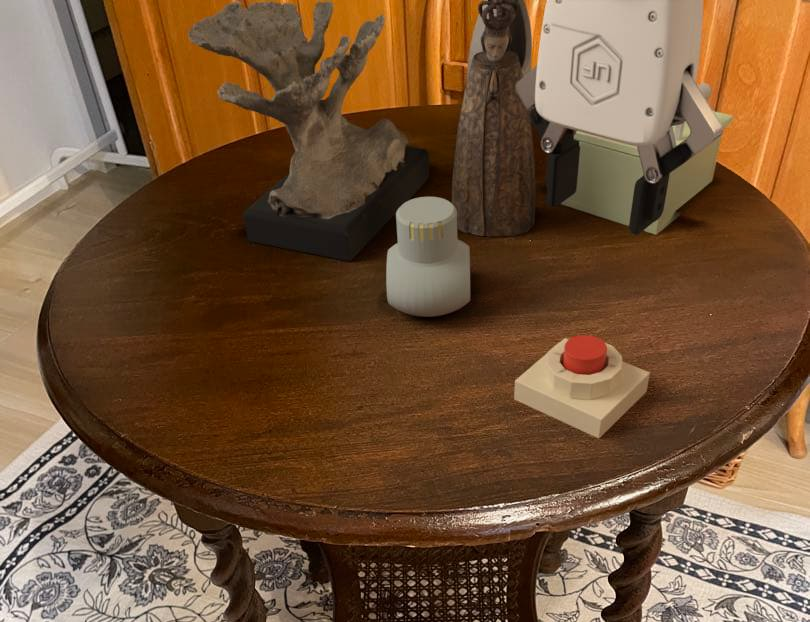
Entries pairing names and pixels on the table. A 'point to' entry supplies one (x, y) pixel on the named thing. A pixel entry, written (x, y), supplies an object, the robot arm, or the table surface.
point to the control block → (582, 390)
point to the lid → (679, 130)
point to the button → (584, 355)
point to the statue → (494, 138)
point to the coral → (315, 131)
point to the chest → (617, 174)
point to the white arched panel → (518, 32)
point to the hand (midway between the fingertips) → (601, 210)
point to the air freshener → (428, 260)
